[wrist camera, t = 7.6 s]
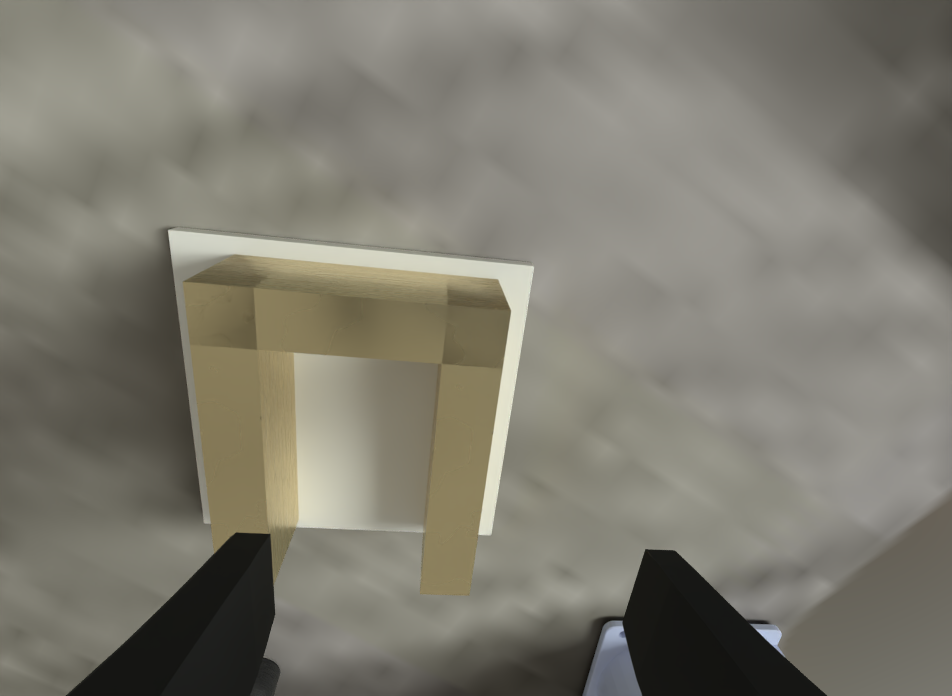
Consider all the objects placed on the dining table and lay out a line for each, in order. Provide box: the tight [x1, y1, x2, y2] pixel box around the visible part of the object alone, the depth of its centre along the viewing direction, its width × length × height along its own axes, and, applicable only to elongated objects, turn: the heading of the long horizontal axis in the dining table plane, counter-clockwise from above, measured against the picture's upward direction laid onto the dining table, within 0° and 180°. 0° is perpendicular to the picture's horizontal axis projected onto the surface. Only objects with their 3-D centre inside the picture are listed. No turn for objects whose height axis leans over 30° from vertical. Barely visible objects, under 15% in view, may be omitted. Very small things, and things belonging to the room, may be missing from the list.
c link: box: [183, 254, 511, 595], centre depth 17 cm, size 9×11×4 cm
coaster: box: [168, 227, 534, 535], centre depth 19 cm, size 12×12×1 cm
